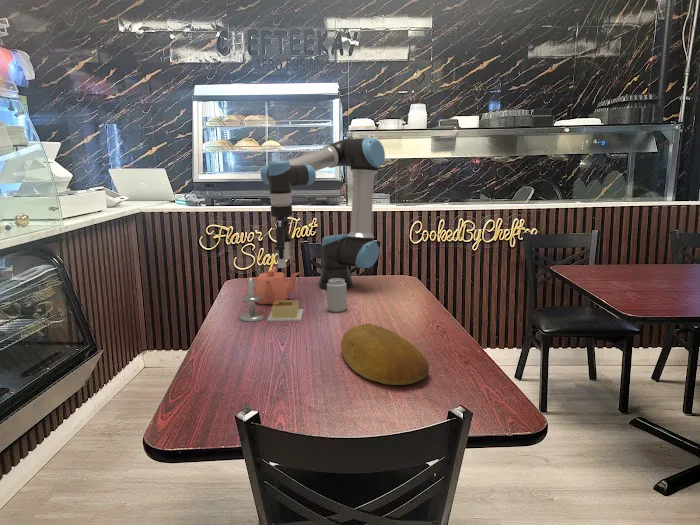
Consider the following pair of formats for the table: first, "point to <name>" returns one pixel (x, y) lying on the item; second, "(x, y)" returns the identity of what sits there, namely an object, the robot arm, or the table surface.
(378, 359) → the bread
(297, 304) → the link
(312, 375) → the table surface
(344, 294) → the can
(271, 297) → the pot
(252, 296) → the stand
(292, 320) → the mat
